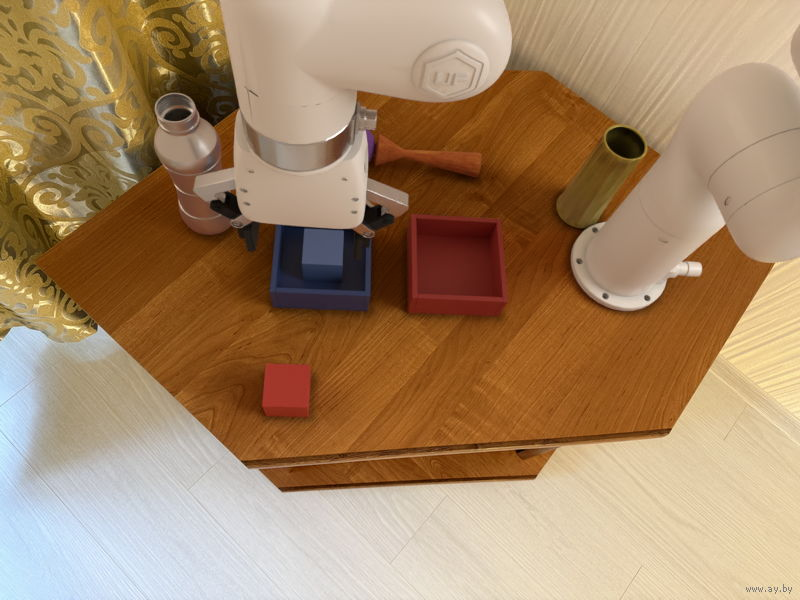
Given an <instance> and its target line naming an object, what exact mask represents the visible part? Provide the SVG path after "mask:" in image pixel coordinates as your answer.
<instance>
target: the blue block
mask: <svg viewBox="0 0 800 600" xmlns="http://www.w3.org/2000/svg"><path fill="white" fill-rule="evenodd" d="M343 242H344V231H342V230H323V229H304V239H303V253H302V272H303V281H319V282H342V267H343Z"/></svg>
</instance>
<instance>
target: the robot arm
mask: <svg viewBox="0 0 800 600" xmlns="http://www.w3.org/2000/svg"><path fill="white" fill-rule="evenodd" d="M218 1H219V5H220V12H221V17H222V22H223V27H224V33H225V39H226V43H227V48H228V49H227V50H228V53H229V59H230V65H231V70H232V74H233V79H234V85H235V91H236V96H237V101H238V107H239V109H238V110H237V112H236V115H235V122H234V133H233V134H234V135H233V137H234V138H233V166H232V167H228V168H223V169H222V170H220V171H215V172H211V173H207V174H203V175H199V176H196V177H195V182H194V187H193V192H194V193H195V194H197V195H198V196H199V197H200V198H201V199H203V200H204V201H205V202H208V203H209V204H210V208H211V209H212V210H213V211H215V212H217V213H219V214H221V215H223V216H225V217H227V218H229V219H231V221H230V225H231V226H230V227H233V228H236V230H237V233H238V237H239V239H244V242H245V246H246V251H247V252H249V253H250V252H251V253H254V252H255V251H257V246H258V239H259V232H260V224H270V225H276V224H279V225H291V226H304V227H317V228H333V229H350V228H352V229H353V230H354V231H355V234H354V251H353V258H355V259H359V260H361V252H362V247H366V248H369V245H370V238H371V239H372V238H374V237H375V236H376V231H379V230H381V229H384V228H386V227H389V226H391V225H394V224H395V219H396V218H400V217H401V216H402V215H403V214H405V213H406V212H408V211H409V209H410V194H409V193H407V192H405V191H402V190H400V189H397V188H395V187H392V186H390V185H388V184H385V183H382V182H380V181H377V180H375V179H372V178H369V163H368V143H367V135H366V130H365V129H369V131H370V130H371V131H376V130H377V119H378V109H371V108H367V106H363V105H362V106H361V101H357V98H358V97H357V96H358V92H364V93H370V94H375V95H381V96H385V97H391V98H397V99H402V100H408V101H416V102H425V103H451V102H452V103H453V102H458V101H462V100H467V99H469V98H472V97H475V96H477V95H479V94H481V93H483V92H485V91H486V90H488V89H489V88H490V87H491V86H492V85H494V84H495V83H496V82H497V80H499V79H500V78H501V75H502V74H503V73H504V71H505V70H506V68H507V65H508V63H509V60H510V57H511V53H512V46H513V34H512V32H513V31H512V26H511V25H512V24H511V21H510V17H509V16H510V15H509V13H508V9H507V7H506V4H505V0H218ZM789 51H790V55H791V56H790V57H791V60H792V64H793V66H794V68H795V70H796V73H797V75H798V77H799V78H800V23H799V25H798V26H797V27H796V29H795V31H794V32H793V35H792V37H791V40H790V49H789ZM234 190H235V194H234V193H233V192H231V193H230V192H229V191H234ZM373 203H374V204H373ZM375 204H376V205H375ZM724 226H726V228H727V230H728V232H729V234H730V235H731V238H732V239H733V241H734V244H735V245H736V246H737V248H738V249H739V250H740V251H741V252H742V253H743V254H744V255H745V256H747V258H749V259H752V260H754V261H756V262H760V263H764V264H765V263H768V264H776V263H783V262H788V261H792V260H795V259H798V258H800V85H799V84H798V83H797V82H796V81H795V79H794V78H793V76H791V75H790V74H789V73H788V72H786V71H784V70H783V69H781V68H780V67H778V66H775V65H773V64H769V63H766V62H748V63H741V64H738V65H734V66H732V67H731V68H728V69H725V70H724V71H722V72H720V73H719V74H717V75H715V76H714V77H713V78H712V79H710V80H709V81H708V82H707V83H705V84H704V85H703V86H702V87H701V88H700V90H699V91H698V92H696V93H695V95H694V96H693V98H692V99H691V100H690V102H689V103H688V105H687V106H686V108H685V109H684V111H683V114H682V116H681V118H680V119H679V122H678V124H677V125H676V127H675V130H674V132H673V135H672V136H671V138H670V140H669V142H668V143H667V145H666V146H665V149H663V151H662V153H661V154H660V156H659V157H658V158H657V159H656V161H655V162H654V163H653V164H652V166H651V167H650V168H649V169H648V171H647V172H646V173H645V174H644V176H642V178H641V179H640V180H639V181H638V182H637V184H636V185H635V186H634V187H633V189H632V190H630V193H629V194H628V195H627V196H626V197H625V198H624V199H623V201H622V202H621V203H620V204H619V206H618V207H617V208H616V209H615V211H614V212H613V213H612V214H611V215H610V217H608V219H607V220H606V221H602V222H596V224H594V225H592V226H590V227H588V228H585V229H584V230H582V232H581V233H580V235H578V237H577V238H576V239H575V242H574V243H573V245H572V247H571V251H570V252H571V253H570V267H571V270H572V273H573V276H574V279H575V280H576V282H577V284H578V285H579V287H580V288H581V289H582V290H583V292H584V293H585V294H586V295H587V296H588V297H589V298H591V299H592V300H594V301H595V302H596V303H598V304H600V305H602V306H604V307H606V308H608V309H612V310H615V311H621V312H632V311H633V312H634V311H639V310H643V309H644V308H646V307H649V306H650V305H651V304H653V303H654V302H655V301H657V299H658V298H659V297H660V296H661V295H662V294H663V291H664V290H665V288H666V285H667V282H668V279H675V278H677V277H678V276H683V277H695V278H697V277H700V276H701V275H702V272H703V265H702V263H701V262H699V261H689V260H686V259H687V258H688V257H689V256H691V254H693V253H694V252H695V251H697V249H698V248H700V247H701V246H703V244H704V243H706V242H707V241H708V240H709V239H710V238H712V237H713V236H714V235H716V234H717V233H718V232H719V231H720V230H722V228H723V227H724Z"/></svg>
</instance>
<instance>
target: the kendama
mask: <svg viewBox="0 0 800 600" xmlns="http://www.w3.org/2000/svg"><path fill="white" fill-rule="evenodd" d="M365 130H366V135H367V143H368V164H369V163H370V162H371V160H372V159H373V161H374V162H373V163H374V164H373V165H374V167H376V166H380V165H383V164H387V163H390V162H394V161H396V160H401V159H405V160H409V161H412V162H416V163H419V164H423V165H427V166H431V167H434V168H438V169H443V170H446V171H450V172H454V173H457V174H461V175H465V176H468V177H472V178H478V177H479V174H480V173H481V170H482V163H483V155H482V152H477V151H450V150H429V149H427V150H425V149H405V148H402V147H401V146H400V145H398V144H396V142H393V141H391V139H389V138H388V137H386V136H384V135H383V134H381V133H378V135H377V138H376V141H375V137H374V135H373V133H372V132H371V131H370V129H365Z"/></svg>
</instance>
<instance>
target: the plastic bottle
mask: <svg viewBox="0 0 800 600" xmlns="http://www.w3.org/2000/svg"><path fill="white" fill-rule="evenodd" d="M154 112H155V113H154V114H155V115H156V120H157V123H158V127H157V129H156V131H155V134H154V137H153V138H154V140H153V141H154V142H153V148H154V153H155V154H156V156H157V158H158V160H159V161H160V163H161V164H162V166H163V167H164V169H165V171H166V172H167V173H168V175H169V177H170V179H171V181H172V182H173V184H174V186H175V190H176V194H177V201H178V211H179V214H180V217H181V219H182V221H183V222H184V223H185V224H186V225H187V227H188V228H190V230H192V231H193V232H195V233H197V234H200V235H205V236H213V235H214V236H215V235H218V234H221V233H224V232H225V231H227V230H228V229H229V228H231V227H232V226H231V225H230V221H231V219H229V218H227V217H225V216H223V215H221V214H219V213H217V212H215V211H213V210H212V209H211V208H210V204H209V203H208V202H205V201H204V200H203V199H201V198H200V197H199V196H198V195H197V194H195V193H194V192H193V187H194V182H195V177H196V176H199V175H203V174H207V173H211V172H215V171H220V170H223V164H222V143H221V142H222V141H221V137H220V135H219V133H218V132H217V130H216V129H215V128H214V126H213V125H212V124H211V123H210V122H208V121H207V120H206V119H204V118H202V117H201V116H200V113H199V111H198V109H197V107H196V104H195V102H194V100H193V99H192V98H191V97H190V96H188V95H187V94H184V93H180V92H169V93H166V94H164V95H162V96H160V97H159V98H158V99H157V100H156V102H155V104H154ZM231 191H232V190H231ZM231 191H229V192H230V193H232V192H231Z"/></svg>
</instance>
